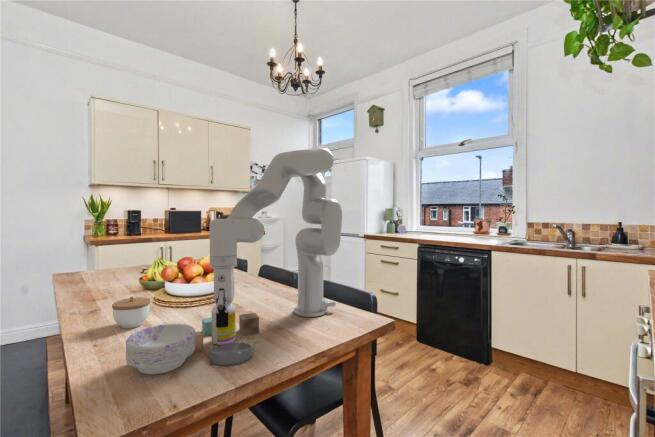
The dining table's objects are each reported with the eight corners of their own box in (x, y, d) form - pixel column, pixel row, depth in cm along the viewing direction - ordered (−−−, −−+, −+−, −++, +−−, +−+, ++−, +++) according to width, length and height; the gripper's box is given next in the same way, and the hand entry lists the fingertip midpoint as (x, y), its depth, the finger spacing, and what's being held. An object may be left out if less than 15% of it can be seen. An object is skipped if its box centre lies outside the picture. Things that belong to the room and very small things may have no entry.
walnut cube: (254, 327, 104) (254, 312, 104) (259, 333, 99) (258, 317, 99) (239, 330, 102) (239, 314, 101) (242, 336, 97) (242, 319, 97)
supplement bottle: (240, 339, 94) (240, 296, 94) (222, 348, 89) (222, 302, 88) (225, 334, 98) (225, 293, 97) (206, 342, 92) (206, 298, 92)
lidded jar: (145, 317, 113) (145, 290, 113) (154, 325, 105) (154, 297, 105) (109, 324, 105) (108, 296, 105) (116, 334, 98) (116, 303, 97)
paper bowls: (182, 380, 72) (182, 346, 72) (112, 383, 71) (111, 348, 70) (203, 350, 87) (203, 321, 87) (145, 352, 86) (145, 323, 86)
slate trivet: (253, 345, 91) (253, 340, 91) (252, 363, 80) (252, 359, 80) (212, 348, 88) (212, 344, 88) (206, 368, 78) (206, 363, 78)
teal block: (221, 327, 104) (221, 315, 104) (224, 331, 101) (224, 319, 101) (202, 331, 101) (202, 318, 101) (205, 335, 97) (204, 322, 97)
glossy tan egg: (204, 345, 90) (204, 331, 90) (202, 351, 86) (202, 337, 86) (189, 346, 89) (188, 332, 89) (186, 353, 85) (186, 338, 85)
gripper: (234, 266, 85) (234, 332, 85) (238, 256, 102) (238, 311, 102) (204, 267, 83) (205, 334, 84) (214, 257, 100) (214, 313, 101)
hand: (223, 321), depth 93 cm, fingers closed on supplement bottle, 6 cm apart
